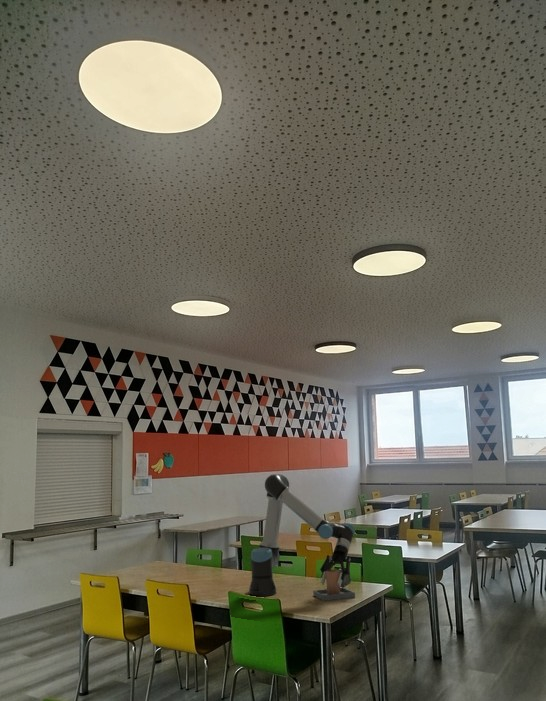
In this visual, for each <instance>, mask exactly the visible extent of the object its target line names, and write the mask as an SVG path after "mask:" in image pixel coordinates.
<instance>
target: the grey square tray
mask: <svg viewBox="0 0 546 701" xmlns="http://www.w3.org/2000/svg"><path fill="white" fill-rule="evenodd" d="M312 592H313V595H314V596H313V597H315V596H316V597H315V598H317V597H318V598H317V599H319V598H320V600H321V599H322V600H321V601H323V600H327V601H333V600H332V599H337V600H342V599H341V598H346V599H352V598H351V597H355V598H356V593H355V591H353V590H350V589H348V588H346V587H342V588H340V594H331V595H327V588H326V589H315V590H313V591H312Z"/></svg>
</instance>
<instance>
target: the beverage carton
mask: <svg viewBox="0 0 546 701" xmlns="http://www.w3.org/2000/svg"><path fill="white" fill-rule="evenodd" d="M341 572H342V570H341V571H340V570H339V576H340V573H341ZM342 573H343V572H342ZM349 582H350V583H351V582H352V581H351V572H349V575H348V574H346V575H345V578H344V580H342V583H341V586H340V587H342V588H344V587H345V586H347V585H348V584H350V583H349ZM347 583H348V584H347ZM346 584H347V585H346ZM344 585H345V586H344ZM343 586H344V587H343Z"/></svg>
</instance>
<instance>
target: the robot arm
mask: <svg viewBox="0 0 546 701" xmlns="http://www.w3.org/2000/svg"><path fill="white" fill-rule="evenodd" d="M264 488H265V489H264V490H265V491H266V498H267V499H268V502H267V509H266V517H265V523H264V531H263V538H262V541H261V542H260V543H259V547H258V548H254V549H252V550H251V553H250V560H251V561H250V562H251V563H250V564H251V565H250V566H251V581H250V584H249V588H248V595H249V594H252V595H259V596H258V597H267V596H273V595H276V594H277V587H276V584H275V582H274V578H273V577H274V576H273V572H274V571H273V569H274V568H275V567H277V565H278V563H279V562H280V558H281V556H280V553H279V552H280V544H278V542H279V534H280V527H281V526H280V525H281V519H282V518H281V517H282V510H283V504H284V505H285V506H286V507H287V508H289V510H291V511H292V512H293V513H295V515H297V516H298V517H299V518H300V519H301V520H303V521H304V522H305V523H306V524H307V525H308V526H309V527H311V528H312V529H313V530H314V532H316V533H318V535H319V537H320V538H321V539H323V540H328V539H330V538H334V539H337V541H336V543H335V547H334V550H333V553H332V554H331V555H326V558H325V560H324V561H323V563H322V566H321V567H320V569H319V570H320V572H321V576H320V577H321V580H320V583H321V585H322V586H324V585H325V584H326V583H325V582H326V570H331V569H332V568H333V567H334V566H335V565H340V567H341V571H342V572H343V573H342V572H341V573H340V576H339V579H338V583H337V584H338V585H339V586H341V583H342V580H344V578H345V575H346V574H348V575H349V572H350V569H351V568H350V567H351V561H352V559H351V557H350V555H348V554H349V551H350V546H351V544H352V541H353V539H354V534H355V529H356V528H355V526H354V525H353V524H352V523H350V522H344V523H343V524H342V525H340V524H337V523H335V522H331V521H328V520H324V519H323V518H322V517H321V516H320V515H319V514H317V513H316V512H315V511H314V510H313V509H312V508H310V507H309V506H308V505H307V504H306V503H305V502H304V501H302V500H301V499H300V498H299V497H298V496H297V495H295V494H294V493H293V492H292V491H291V490H290V481H289V480H288V478H287V476H285V475H283V474H279V473H278V474H270V475H269V476H267V478H266V479H265V480H264ZM344 562H345V564H344ZM350 573H351V572H350ZM252 595H251V596H252Z"/></svg>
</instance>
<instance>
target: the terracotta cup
mask: <svg viewBox="0 0 546 701" xmlns="http://www.w3.org/2000/svg"><path fill="white" fill-rule="evenodd" d="M339 571H340V570H339V569H332V568H331V569H330V570H326V580H325V582H326V583H325V584H326V589H327V595H331V594H340V586H339V585H338V584H337V583H338V579H339Z"/></svg>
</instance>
